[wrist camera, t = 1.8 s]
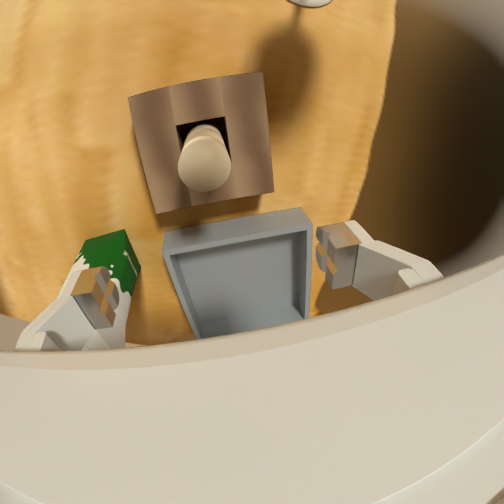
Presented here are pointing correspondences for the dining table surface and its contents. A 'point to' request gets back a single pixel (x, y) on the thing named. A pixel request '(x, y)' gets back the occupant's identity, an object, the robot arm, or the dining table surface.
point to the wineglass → (311, 2)
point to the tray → (242, 271)
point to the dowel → (204, 158)
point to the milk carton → (122, 274)
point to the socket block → (195, 109)
